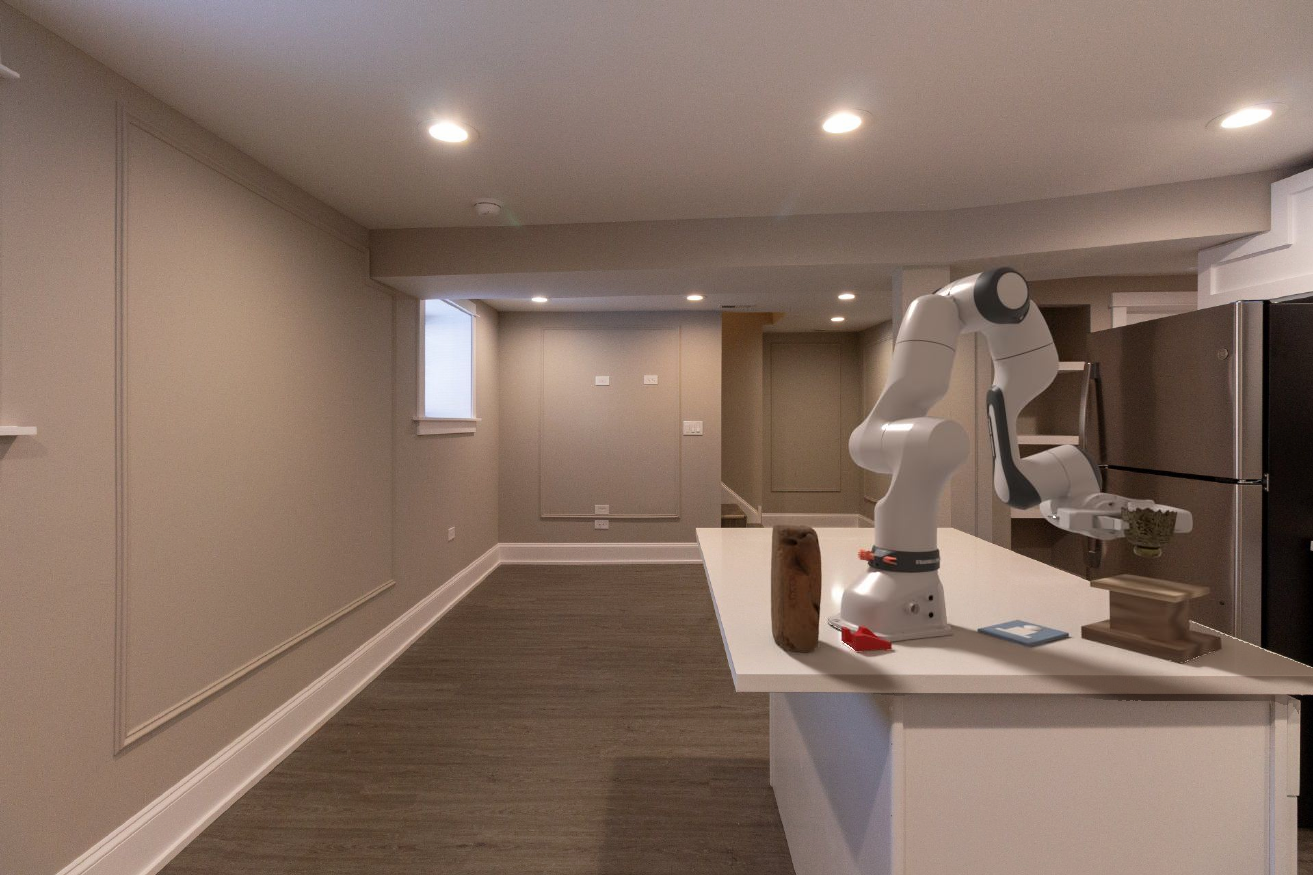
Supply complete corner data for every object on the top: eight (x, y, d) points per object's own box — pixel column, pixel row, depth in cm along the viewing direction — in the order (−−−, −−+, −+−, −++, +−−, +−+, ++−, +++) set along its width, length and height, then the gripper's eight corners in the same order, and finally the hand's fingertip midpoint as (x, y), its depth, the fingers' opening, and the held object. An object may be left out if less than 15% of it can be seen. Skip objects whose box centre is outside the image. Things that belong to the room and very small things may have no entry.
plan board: (1028, 647, 99) (1028, 642, 100) (977, 632, 107) (977, 628, 107) (1068, 636, 105) (1068, 632, 105) (1017, 622, 113) (1017, 619, 113)
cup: (1155, 552, 105) (1156, 507, 105) (1188, 561, 98) (1189, 512, 98) (1109, 550, 106) (1110, 505, 106) (1139, 558, 98) (1140, 510, 98)
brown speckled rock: (769, 633, 107) (768, 522, 107) (811, 634, 107) (810, 522, 107) (779, 654, 96) (778, 530, 96) (826, 655, 96) (825, 530, 96)
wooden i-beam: (1180, 663, 92) (1179, 598, 92) (1081, 637, 104) (1080, 580, 104) (1221, 648, 98) (1220, 588, 98) (1122, 626, 111) (1122, 572, 111)
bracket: (856, 654, 97) (856, 635, 97) (841, 644, 102) (841, 627, 102) (891, 651, 99) (891, 633, 99) (875, 642, 103) (875, 625, 103)
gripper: (1042, 499, 116) (1084, 506, 102) (1158, 499, 113) (1217, 507, 100) (1043, 531, 116) (1085, 543, 102) (1158, 532, 113) (1217, 545, 99)
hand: (1151, 525), depth 101 cm, fingers closed on cup, 7 cm apart
